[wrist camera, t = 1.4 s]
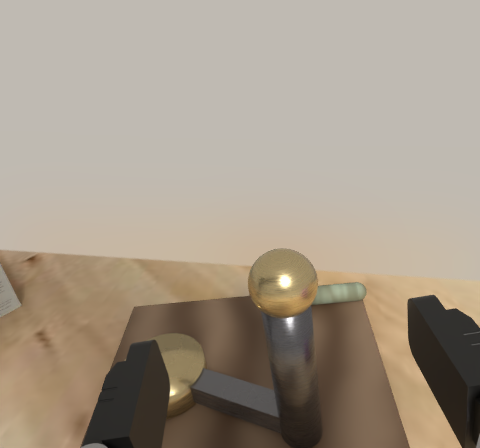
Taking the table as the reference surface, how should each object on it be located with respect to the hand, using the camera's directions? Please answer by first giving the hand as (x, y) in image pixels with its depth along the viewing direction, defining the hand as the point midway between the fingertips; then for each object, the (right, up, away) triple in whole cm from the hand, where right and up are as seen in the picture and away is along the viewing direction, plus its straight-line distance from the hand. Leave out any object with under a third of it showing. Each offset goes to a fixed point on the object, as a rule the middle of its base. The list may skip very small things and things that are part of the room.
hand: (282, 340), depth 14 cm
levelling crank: (-3, -10, +21) cm, 23 cm away
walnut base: (-1, -10, +25) cm, 27 cm away
